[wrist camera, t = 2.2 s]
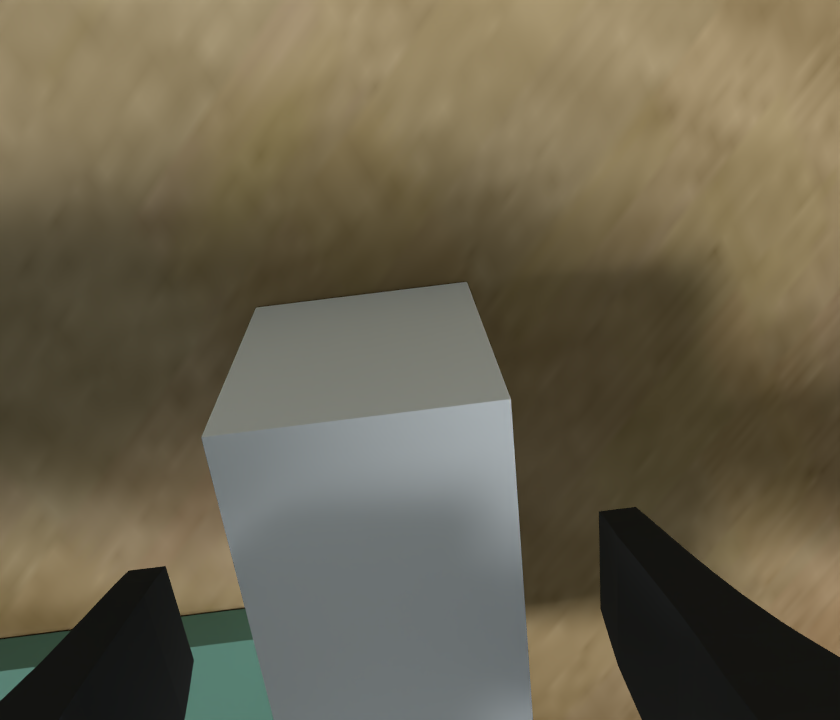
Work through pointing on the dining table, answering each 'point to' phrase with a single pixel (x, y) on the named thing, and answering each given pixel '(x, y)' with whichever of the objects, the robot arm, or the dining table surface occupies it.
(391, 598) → the block
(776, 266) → the dining table surface
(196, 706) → the board
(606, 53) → the dining table surface
